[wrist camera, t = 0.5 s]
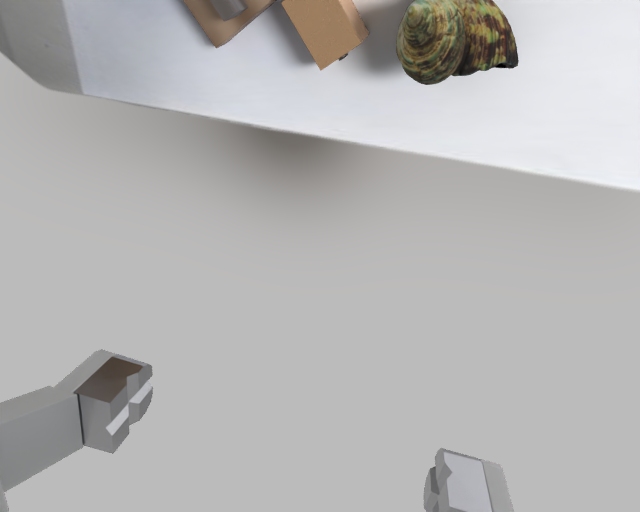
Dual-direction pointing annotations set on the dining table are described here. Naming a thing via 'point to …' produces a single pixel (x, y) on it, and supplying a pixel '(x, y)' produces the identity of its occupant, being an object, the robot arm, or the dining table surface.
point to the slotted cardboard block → (327, 27)
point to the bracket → (225, 16)
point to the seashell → (454, 39)
